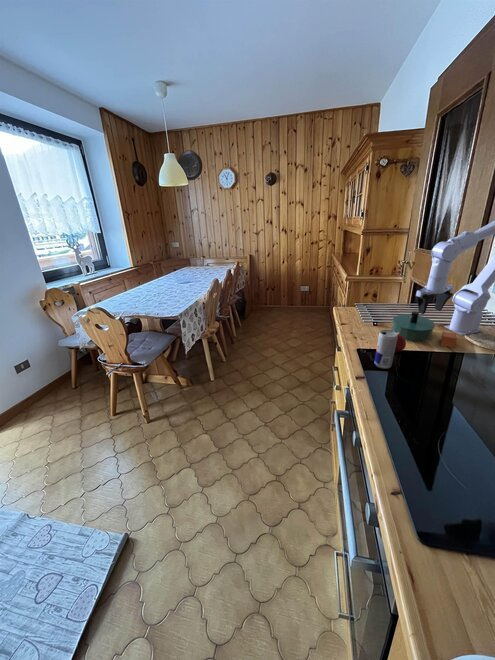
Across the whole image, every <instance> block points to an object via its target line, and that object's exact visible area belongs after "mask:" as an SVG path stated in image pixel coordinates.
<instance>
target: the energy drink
mask: <svg viewBox="0 0 495 660" xmlns="http://www.w3.org/2000/svg"><path fill="white" fill-rule="evenodd" d="M397 338H398V336H397V333H396V332H394V331H392V329H383V330H380V332H379V334H378V339H377V344H376V350H375V356H374V361H373V363H374V365H375V366H376V367H377V368H379V369H382V370H383V369H384V370H387V369H390V368H391V367H392V366H393V361H394V357H395V353H396V352H395V347H396V343H397Z"/></svg>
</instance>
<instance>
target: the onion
mask: <svg viewBox="0 0 495 660" xmlns="http://www.w3.org/2000/svg"><path fill="white" fill-rule="evenodd" d="M397 336H398V338H397V343H396V347H395V352H394V353H400V352H402V351H403V350H404V349H405V348H406V345H407V340H405V339H404V337H403V336H401V335H400V333H399V332H398V333H397Z"/></svg>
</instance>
